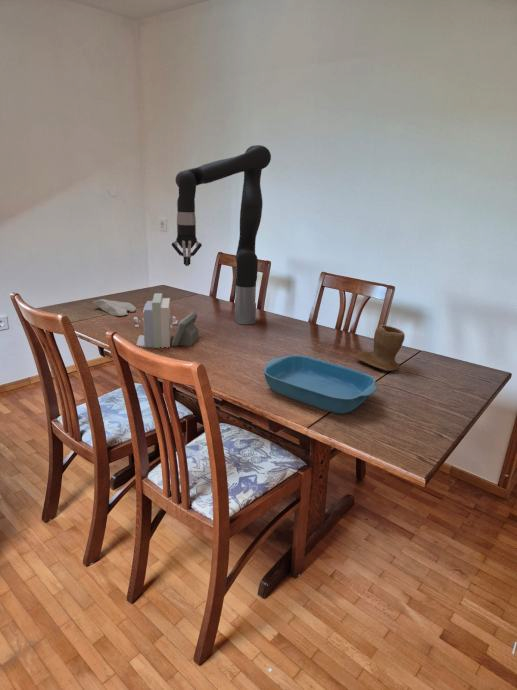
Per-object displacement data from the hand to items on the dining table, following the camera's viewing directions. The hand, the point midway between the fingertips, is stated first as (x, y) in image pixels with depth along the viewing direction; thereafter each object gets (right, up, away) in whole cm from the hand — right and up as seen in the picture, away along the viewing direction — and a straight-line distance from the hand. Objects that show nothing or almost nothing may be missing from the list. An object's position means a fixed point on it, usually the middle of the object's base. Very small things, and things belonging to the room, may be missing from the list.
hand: (187, 265), depth 189 cm
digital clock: (0, -32, -8) cm, 33 cm away
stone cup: (+75, -41, -23) cm, 89 cm away
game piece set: (-15, -25, +11) cm, 31 cm away
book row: (-12, -32, -10) cm, 36 cm away
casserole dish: (+49, -49, -47) cm, 84 cm away
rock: (-38, -17, +28) cm, 50 cm away
